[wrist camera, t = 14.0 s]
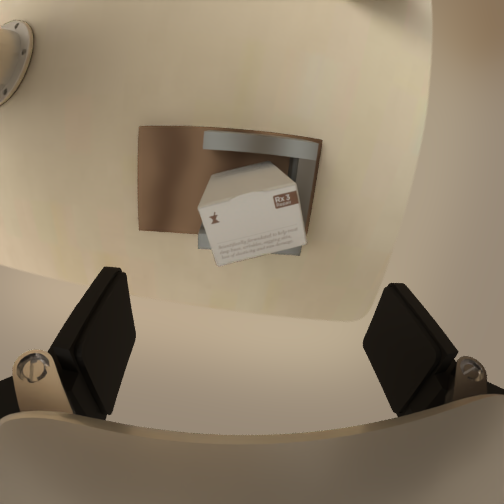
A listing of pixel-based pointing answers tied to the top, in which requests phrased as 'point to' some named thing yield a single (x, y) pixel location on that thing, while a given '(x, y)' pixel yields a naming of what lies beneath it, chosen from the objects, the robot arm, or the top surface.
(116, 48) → the top surface
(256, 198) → the skincare box
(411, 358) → the robot arm
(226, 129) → the u rest
